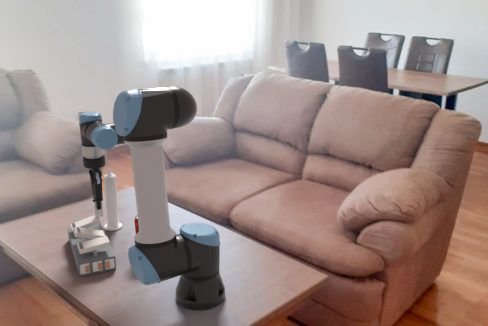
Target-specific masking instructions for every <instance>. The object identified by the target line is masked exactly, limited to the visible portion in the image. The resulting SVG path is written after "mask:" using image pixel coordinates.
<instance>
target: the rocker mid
mask: <svg viewBox="0 0 488 326" xmlns="http://www.w3.org/2000/svg"><path fill="white" fill-rule="evenodd" d="M103 230H104V229H103ZM103 230H96V229H87V228H79V227H74V234H75V237H78V238H88V239H96V238H100V237H103V236H105V234H106V233H105V234H104V232H105V231H104V232H103Z"/></svg>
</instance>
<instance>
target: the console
mask: <svg viewBox="0 0 488 326" xmlns="http://www.w3.org/2000/svg"><path fill="white" fill-rule="evenodd" d="M87 229H96V230H103V232H104V234H105V236H107V234H106V232H105V229H104V226H102V223H99V224H97V225H94V226H92V227H89V228H87ZM67 236H68V242H69V243H68V244H69V245H70V250H71V252H72V253H71V254H72V256H73V260H74V263H75V268H76V270H77V273H78V277H84V276H91V275H95V274H101V273H104V272H109V271H114V270H117V263H116V262H117V260H116V259H117V258H116V255H115V252H114V250H113V247H112V246H111V244H110V246H109V247H105V248H101V249H98V250H94V251H91V252H87V253H83V254H80V253H79V250H78V246H77V243H81V242H85V241H88V240H92V239H88V238H78V237H75V234H74V233H73V231H72V228H71V227H67Z"/></svg>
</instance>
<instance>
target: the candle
mask: <svg viewBox="0 0 488 326" xmlns="http://www.w3.org/2000/svg"><path fill="white" fill-rule="evenodd" d="M103 183H104V199H105V211H106V212H105V213H106V214H105V215H106V223H105V224H104V226H103V230H104V231H108V232H109V231H110V232H113V231H114V232H115V231H118V230H120V229H122V228H123V223H121V222H120V221H119V219H120V218H119V217H120V216H119V205H118V188H117V175H116V174H114V173H113V172H112V171H111V168H110V167H108V169H107V173H106V174H104V175H103Z"/></svg>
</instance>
